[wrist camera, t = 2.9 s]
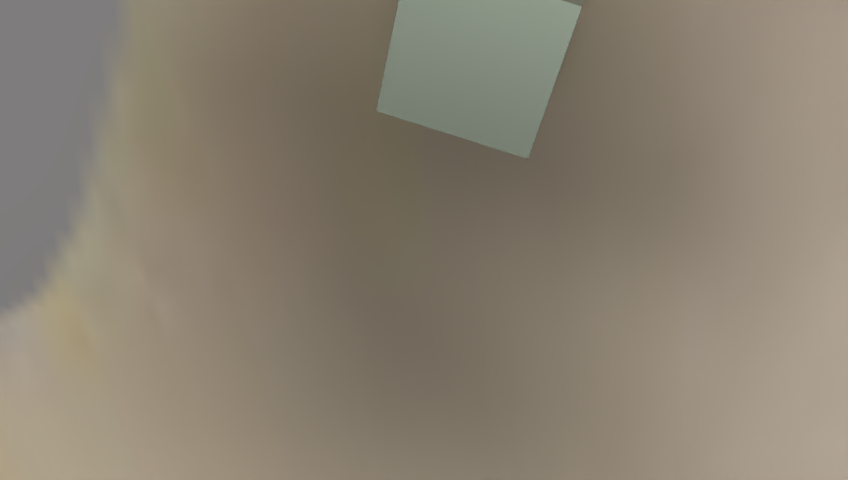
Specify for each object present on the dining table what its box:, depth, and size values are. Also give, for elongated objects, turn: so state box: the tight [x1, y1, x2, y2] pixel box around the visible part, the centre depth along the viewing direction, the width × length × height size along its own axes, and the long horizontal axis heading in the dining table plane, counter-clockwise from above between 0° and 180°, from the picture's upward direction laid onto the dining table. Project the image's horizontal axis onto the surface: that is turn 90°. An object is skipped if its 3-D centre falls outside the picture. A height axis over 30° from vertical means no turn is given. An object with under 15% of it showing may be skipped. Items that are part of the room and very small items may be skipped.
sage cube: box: [376, 0, 583, 159], centre depth 22 cm, size 4×4×4 cm
